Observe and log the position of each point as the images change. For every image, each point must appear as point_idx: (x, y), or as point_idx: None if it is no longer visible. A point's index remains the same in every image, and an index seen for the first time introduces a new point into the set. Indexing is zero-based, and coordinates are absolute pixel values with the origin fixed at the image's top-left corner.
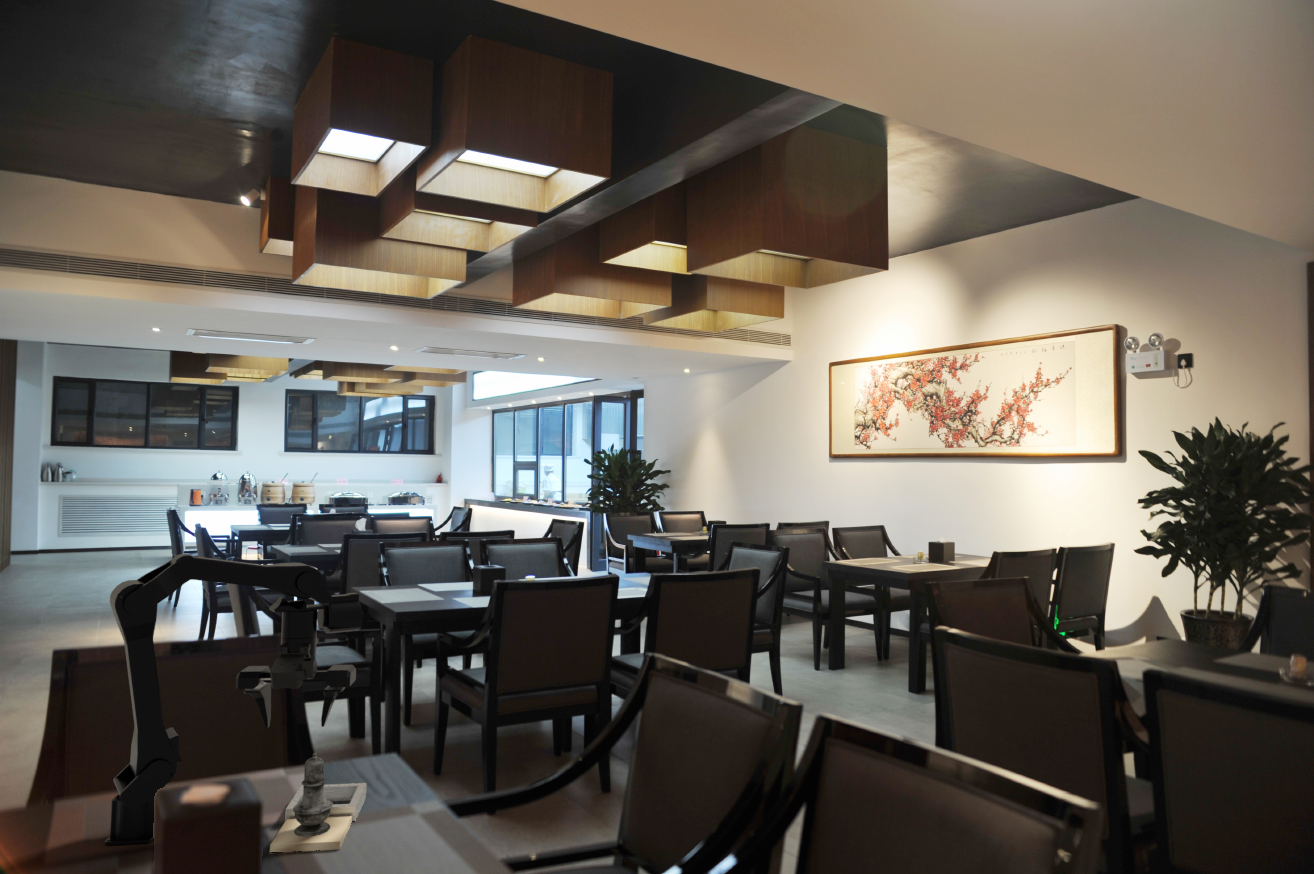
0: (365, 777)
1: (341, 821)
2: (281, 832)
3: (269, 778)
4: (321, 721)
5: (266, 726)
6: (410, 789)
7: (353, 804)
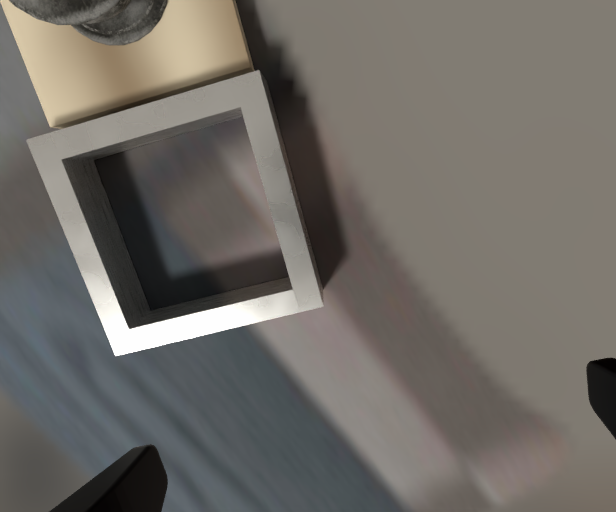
0: (222, 476)
1: (55, 71)
2: None
3: (507, 441)
4: (129, 470)
5: (606, 360)
6: (45, 404)
7: (44, 155)
